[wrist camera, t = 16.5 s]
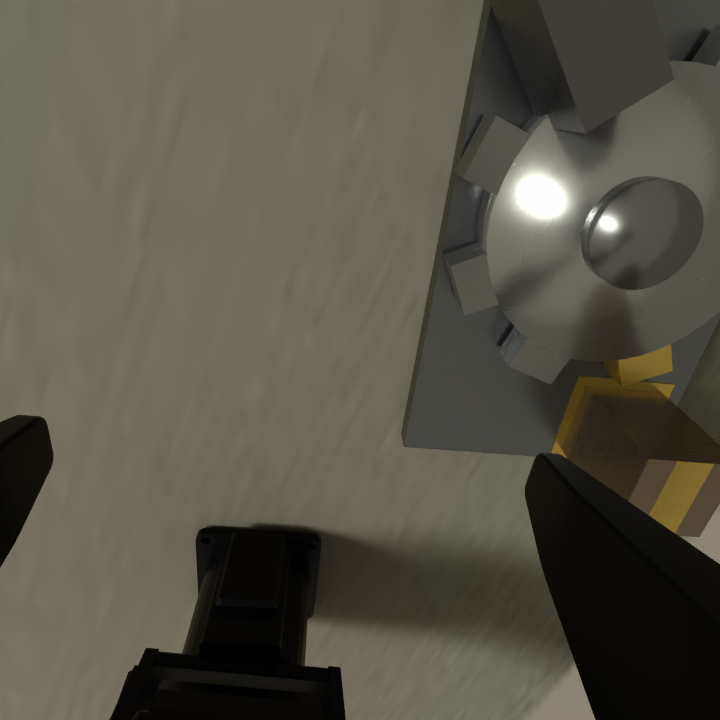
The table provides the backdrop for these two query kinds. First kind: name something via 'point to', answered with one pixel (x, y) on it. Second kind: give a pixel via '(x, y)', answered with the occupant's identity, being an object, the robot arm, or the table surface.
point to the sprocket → (597, 192)
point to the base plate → (491, 326)
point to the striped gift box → (647, 455)
